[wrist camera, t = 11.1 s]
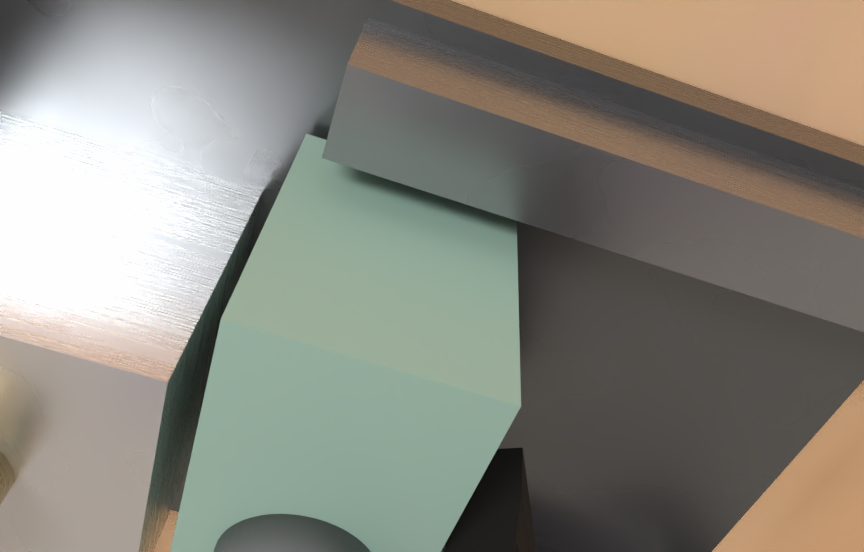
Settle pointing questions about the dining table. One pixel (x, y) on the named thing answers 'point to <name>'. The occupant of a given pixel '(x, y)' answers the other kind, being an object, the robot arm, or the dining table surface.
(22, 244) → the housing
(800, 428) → the press
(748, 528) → the dining table surface
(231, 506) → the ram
